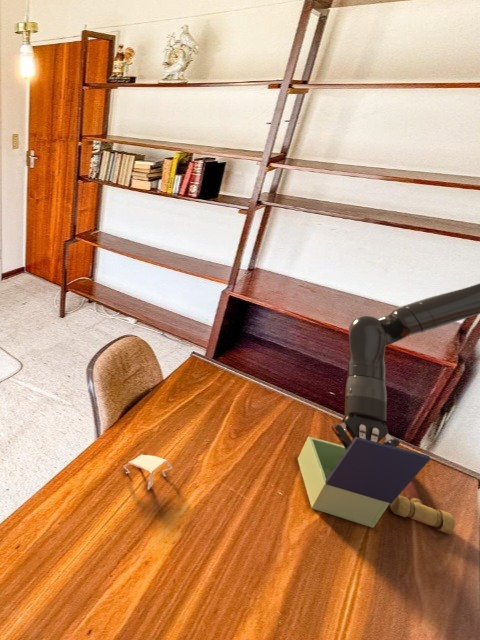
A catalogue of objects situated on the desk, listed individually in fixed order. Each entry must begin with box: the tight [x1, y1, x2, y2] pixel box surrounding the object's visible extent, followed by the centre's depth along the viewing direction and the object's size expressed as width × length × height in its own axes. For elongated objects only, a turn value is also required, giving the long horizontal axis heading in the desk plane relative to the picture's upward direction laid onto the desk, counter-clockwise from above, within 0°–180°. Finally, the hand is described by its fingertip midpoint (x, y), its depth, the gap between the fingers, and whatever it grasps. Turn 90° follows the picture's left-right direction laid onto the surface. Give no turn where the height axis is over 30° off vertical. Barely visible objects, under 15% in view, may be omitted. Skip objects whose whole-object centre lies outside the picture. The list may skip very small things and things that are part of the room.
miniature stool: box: [122, 454, 174, 491], centre depth 102 cm, size 12×8×5 cm
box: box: [297, 436, 391, 529], centre depth 99 cm, size 16×13×9 cm
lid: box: [325, 437, 431, 505], centre depth 86 cm, size 17×13×1 cm
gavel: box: [390, 479, 456, 534], centre depth 101 cm, size 21×5×10 cm
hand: (363, 474), depth 90 cm, fingers closed
